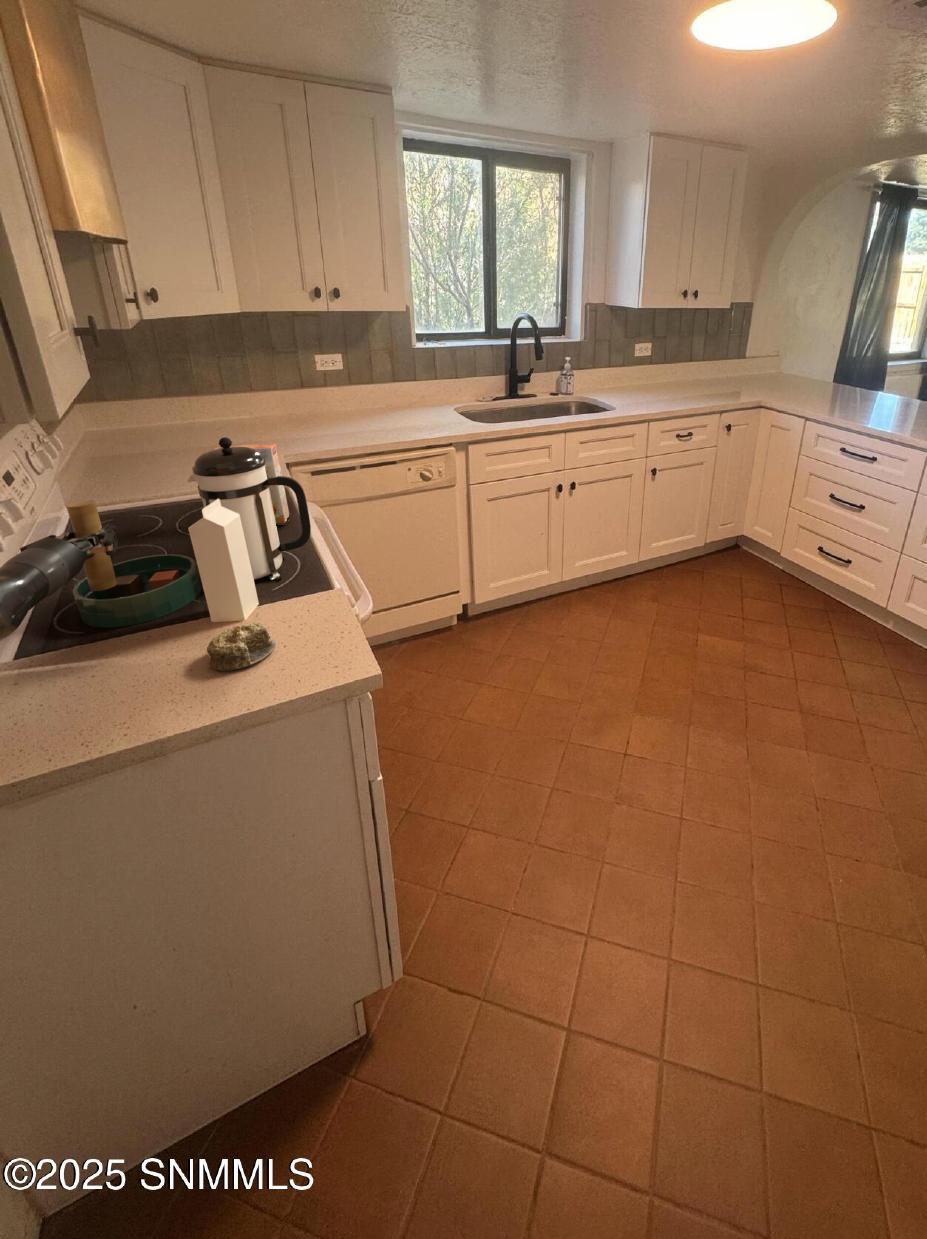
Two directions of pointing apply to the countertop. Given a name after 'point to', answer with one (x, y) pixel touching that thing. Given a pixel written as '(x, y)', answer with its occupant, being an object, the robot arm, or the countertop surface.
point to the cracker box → (273, 471)
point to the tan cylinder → (89, 522)
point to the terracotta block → (163, 579)
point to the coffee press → (249, 502)
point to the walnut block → (126, 587)
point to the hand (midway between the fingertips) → (97, 529)
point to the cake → (240, 647)
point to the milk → (224, 564)
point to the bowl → (145, 605)
